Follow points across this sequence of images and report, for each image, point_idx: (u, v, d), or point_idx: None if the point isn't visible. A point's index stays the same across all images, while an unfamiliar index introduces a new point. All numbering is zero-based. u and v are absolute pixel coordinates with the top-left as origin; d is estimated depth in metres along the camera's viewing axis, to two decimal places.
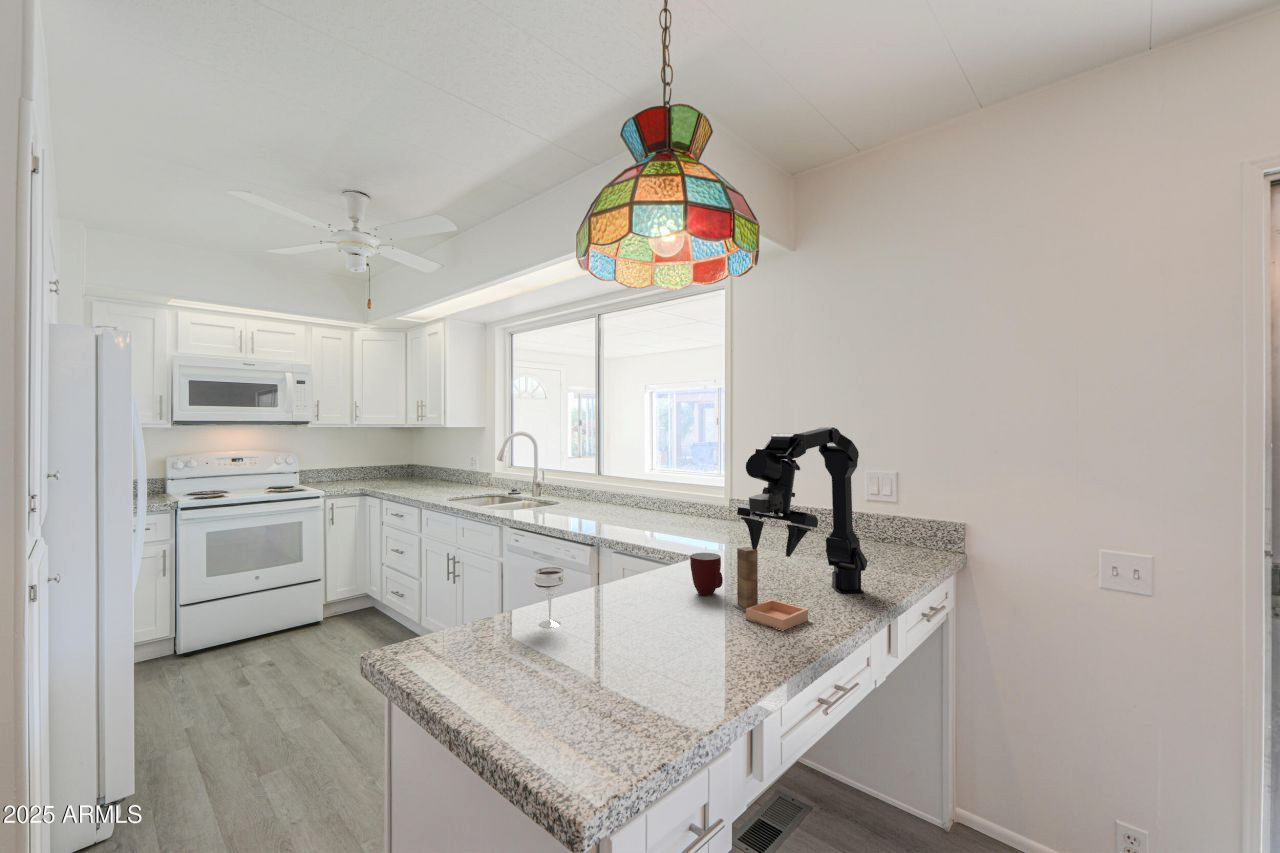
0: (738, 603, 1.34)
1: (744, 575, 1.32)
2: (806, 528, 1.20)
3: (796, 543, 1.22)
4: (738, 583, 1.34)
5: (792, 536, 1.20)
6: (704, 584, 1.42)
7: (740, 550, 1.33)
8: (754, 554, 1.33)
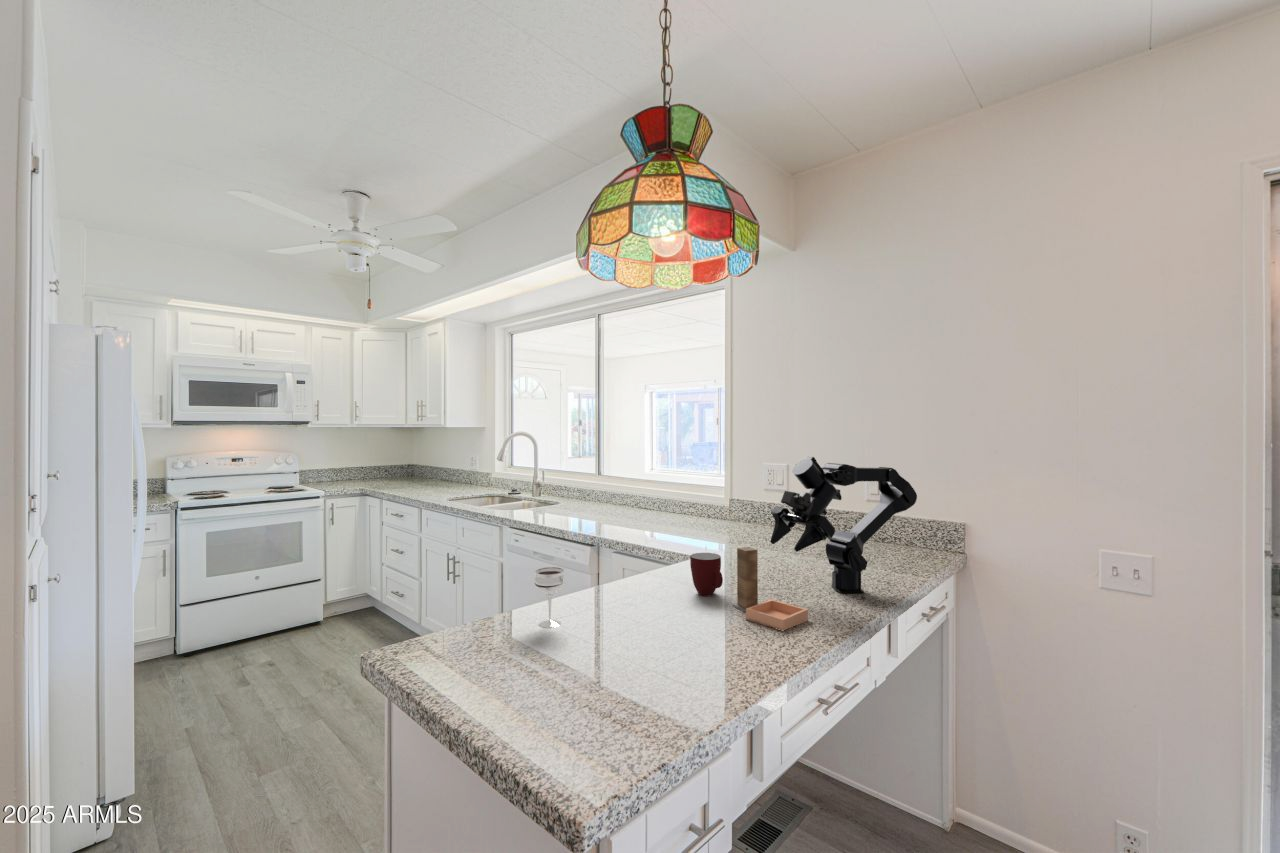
0: (738, 603, 1.34)
1: (744, 575, 1.32)
2: (821, 533, 1.33)
3: (807, 543, 1.34)
4: (738, 583, 1.34)
5: (806, 533, 1.34)
6: (704, 584, 1.42)
7: (740, 550, 1.33)
8: (754, 554, 1.33)
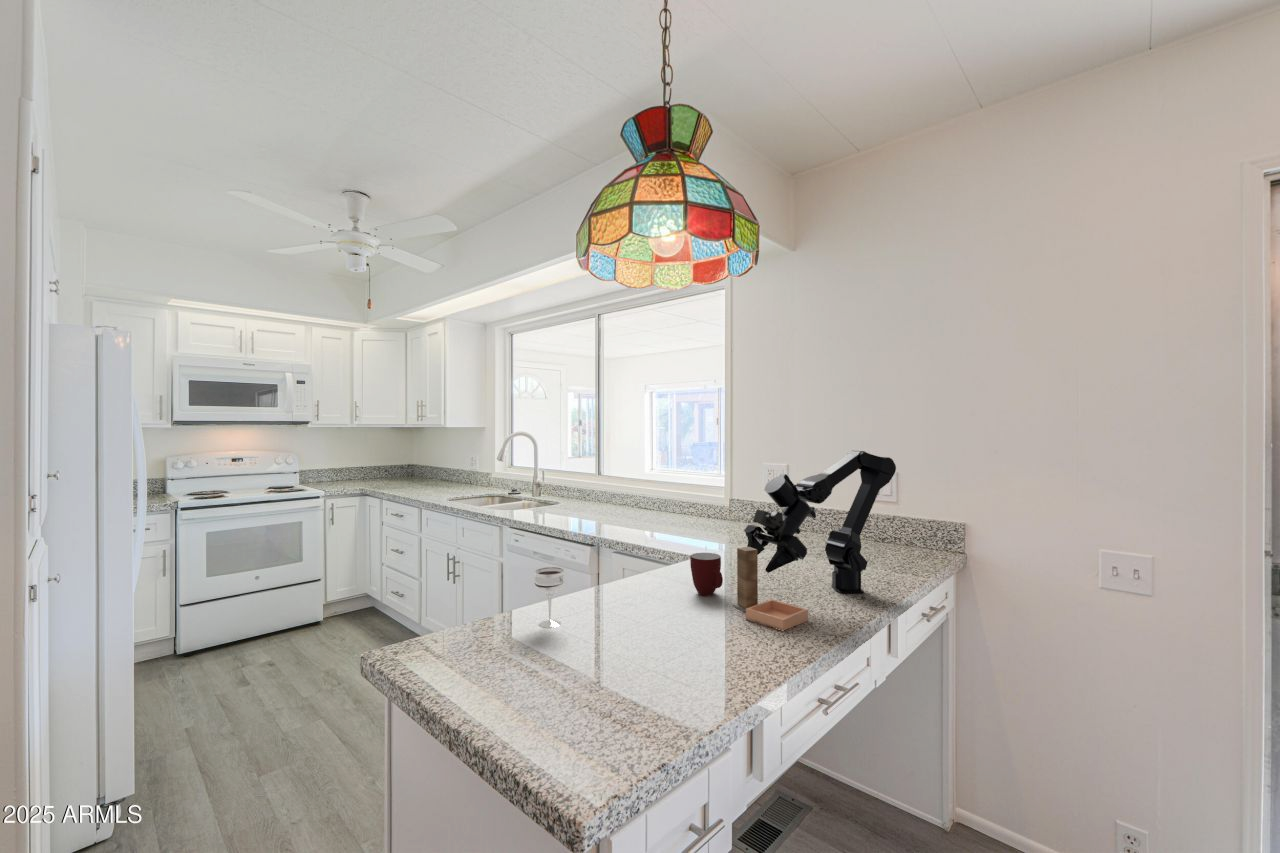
0: (738, 603, 1.34)
1: (744, 575, 1.32)
2: (793, 553, 1.30)
3: (779, 564, 1.31)
4: (738, 583, 1.34)
5: (777, 554, 1.30)
6: (704, 584, 1.42)
7: (740, 550, 1.33)
8: (754, 554, 1.33)
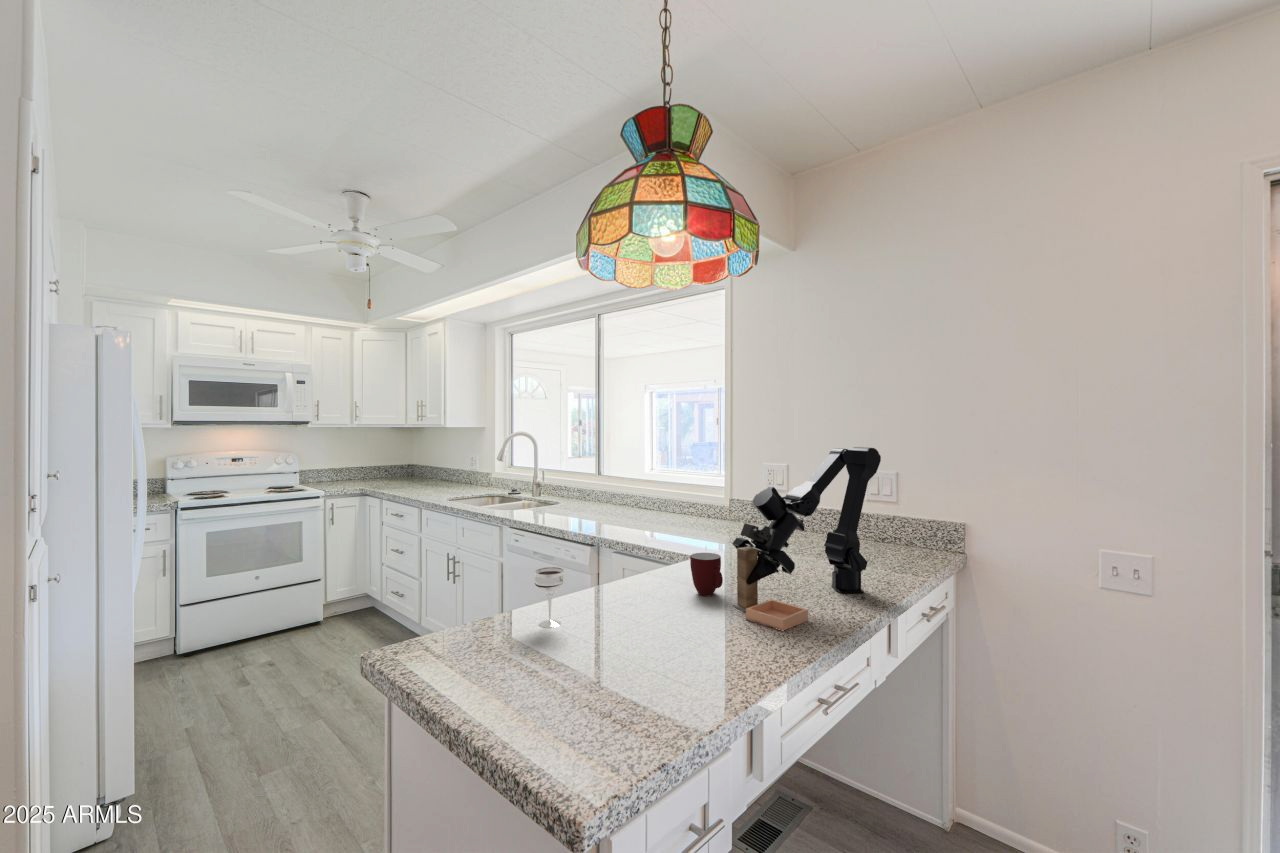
0: (738, 603, 1.34)
1: (744, 575, 1.32)
2: (773, 565, 1.30)
3: (760, 576, 1.32)
4: (738, 583, 1.34)
5: (758, 566, 1.31)
6: (704, 584, 1.42)
7: (740, 550, 1.33)
8: (754, 554, 1.33)
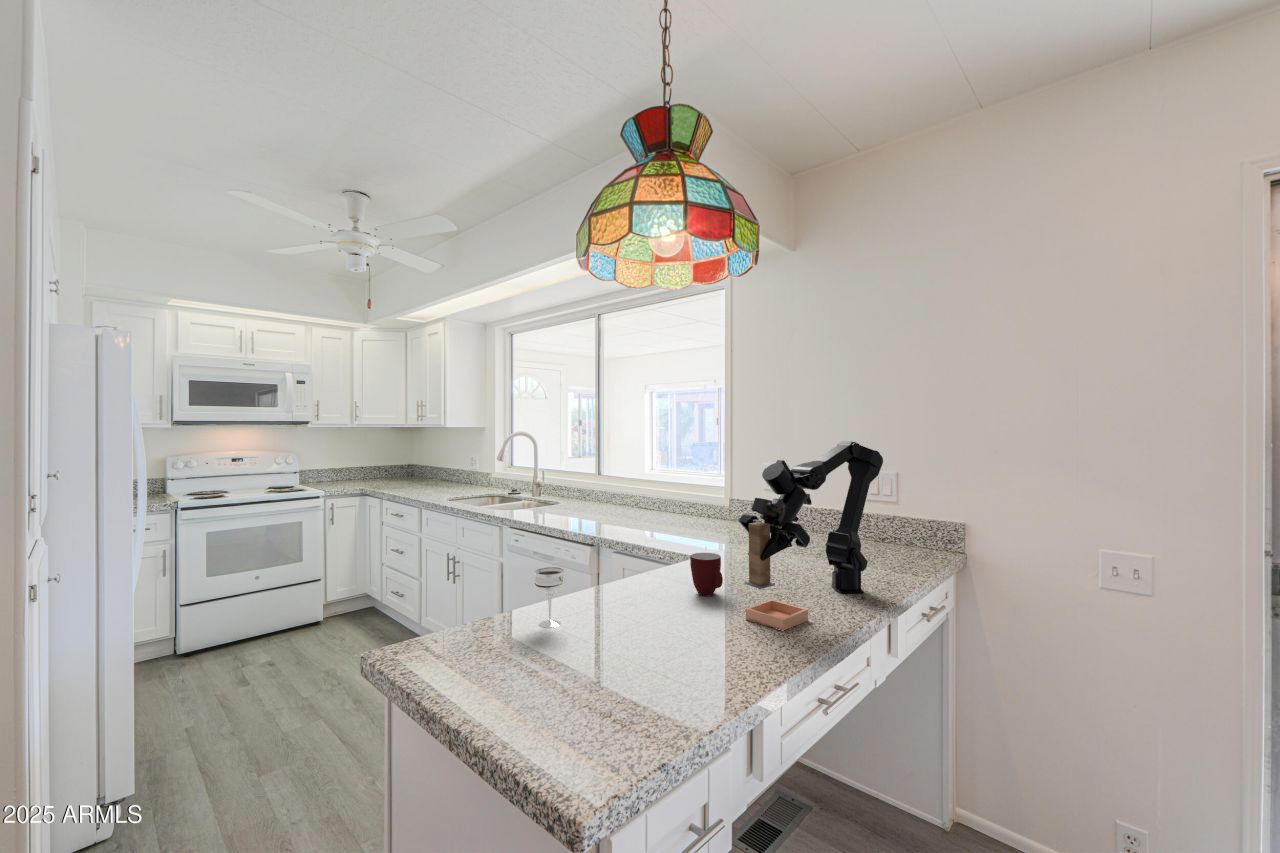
0: (750, 580, 1.30)
1: (757, 551, 1.28)
2: (787, 540, 1.27)
3: (773, 551, 1.28)
4: (750, 560, 1.30)
5: (772, 541, 1.27)
6: (704, 584, 1.42)
7: (752, 525, 1.29)
8: (767, 529, 1.29)
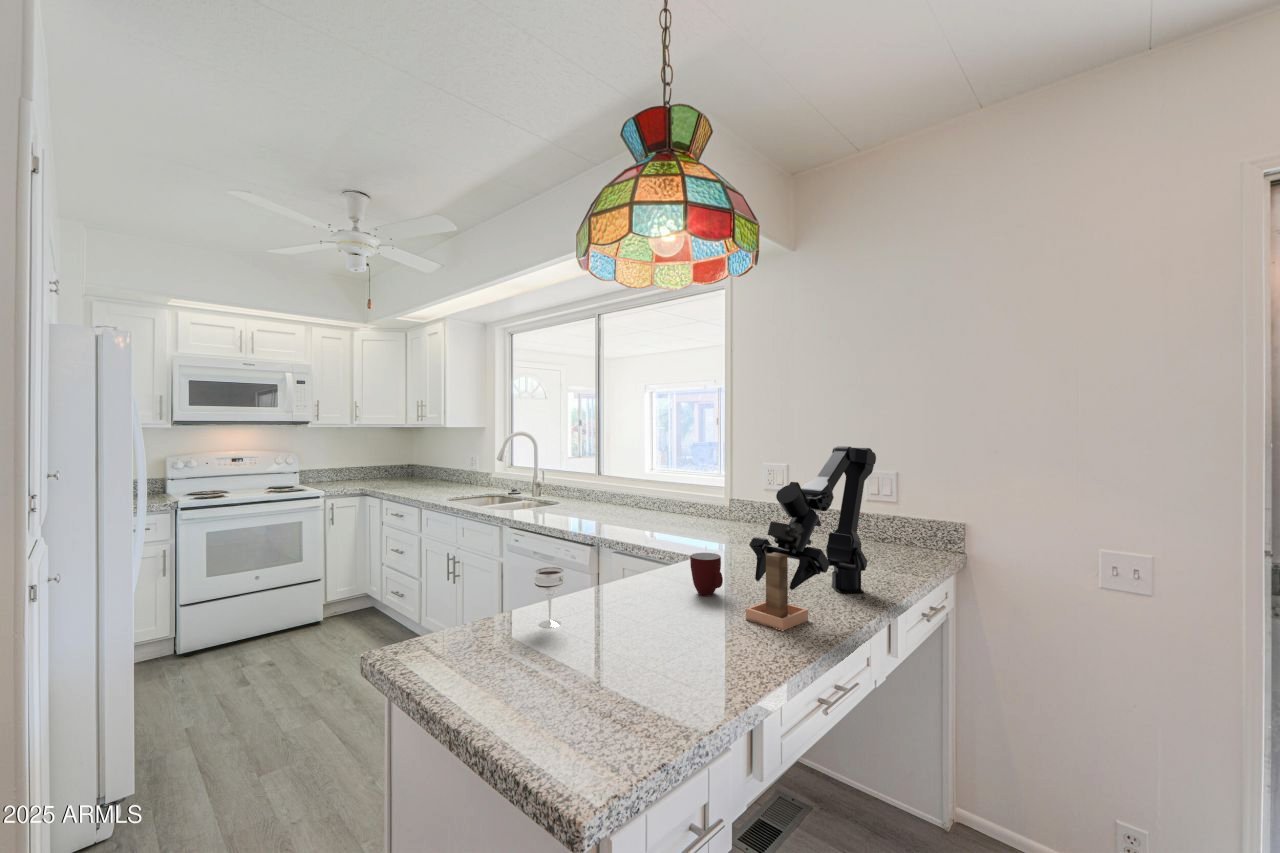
0: None
1: (777, 583, 1.23)
2: (816, 567, 1.22)
3: (802, 580, 1.22)
4: (767, 592, 1.25)
5: (801, 569, 1.21)
6: (704, 584, 1.42)
7: (770, 557, 1.24)
8: (785, 560, 1.25)
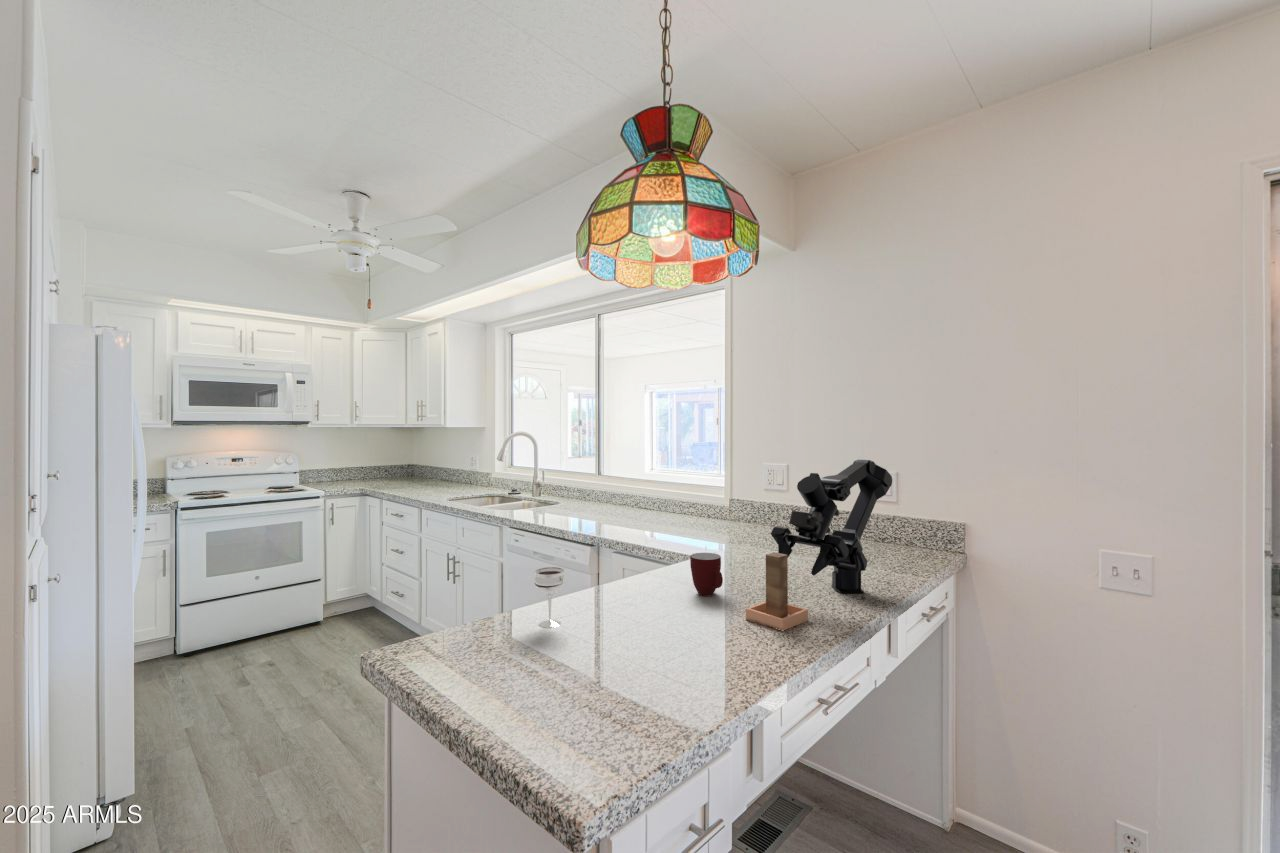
0: None
1: (777, 583, 1.23)
2: (837, 554, 1.28)
3: (823, 566, 1.28)
4: (767, 592, 1.25)
5: (822, 556, 1.27)
6: (704, 584, 1.42)
7: (770, 557, 1.24)
8: (785, 560, 1.25)
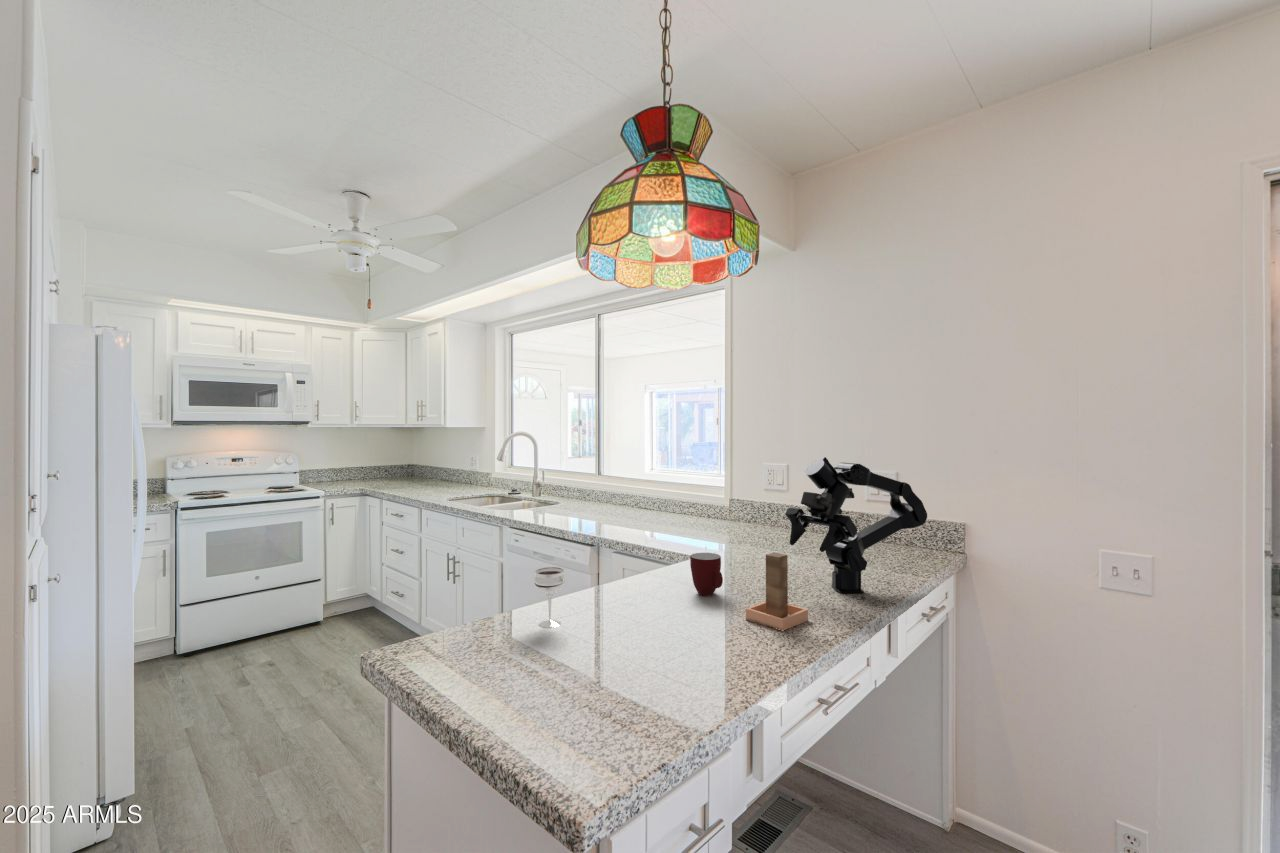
0: None
1: (777, 583, 1.23)
2: (845, 532, 1.35)
3: (831, 543, 1.36)
4: (767, 592, 1.25)
5: (831, 533, 1.35)
6: (704, 584, 1.42)
7: (770, 557, 1.24)
8: (785, 560, 1.25)
